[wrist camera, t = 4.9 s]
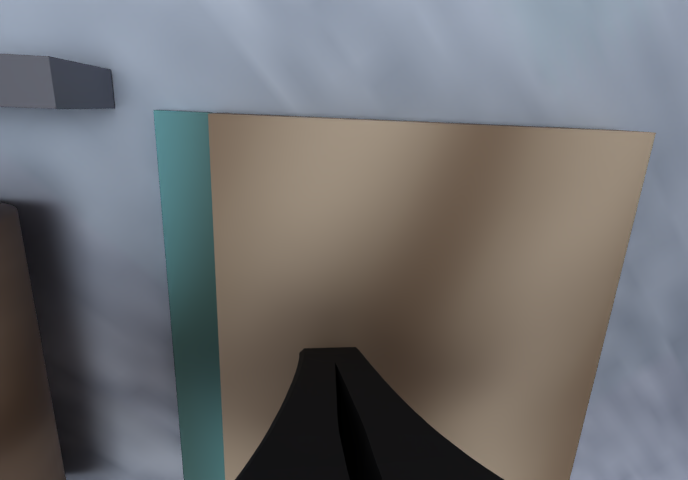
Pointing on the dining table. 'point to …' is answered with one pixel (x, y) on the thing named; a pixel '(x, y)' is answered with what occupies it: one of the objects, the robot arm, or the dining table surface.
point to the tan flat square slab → (394, 273)
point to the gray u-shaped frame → (53, 83)
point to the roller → (23, 369)
